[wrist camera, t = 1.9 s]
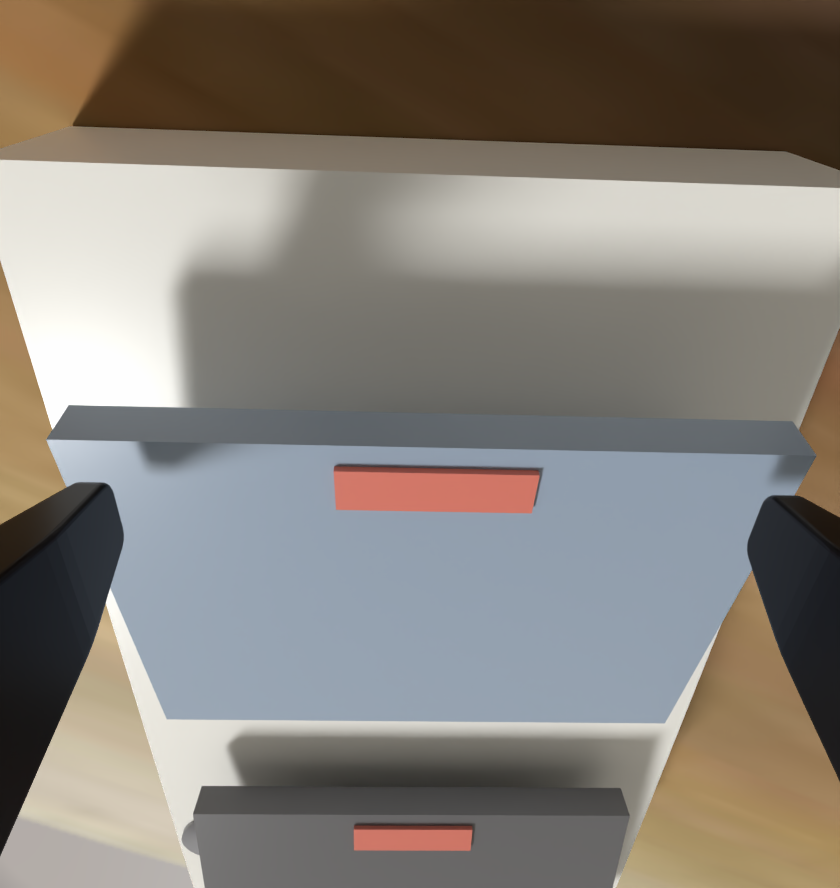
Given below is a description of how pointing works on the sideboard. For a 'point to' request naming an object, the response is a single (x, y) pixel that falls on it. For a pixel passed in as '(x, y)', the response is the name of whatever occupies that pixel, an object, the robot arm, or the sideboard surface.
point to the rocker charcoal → (409, 837)
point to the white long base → (416, 347)
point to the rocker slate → (426, 556)
